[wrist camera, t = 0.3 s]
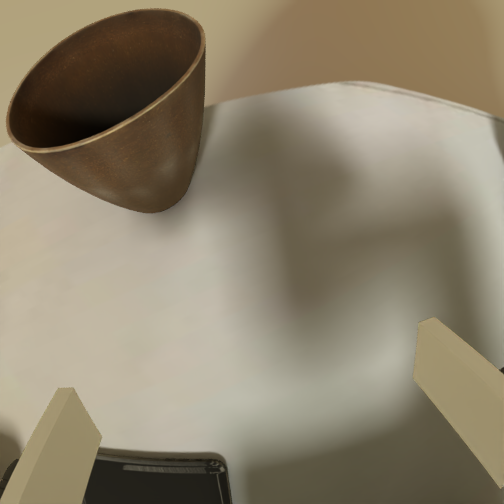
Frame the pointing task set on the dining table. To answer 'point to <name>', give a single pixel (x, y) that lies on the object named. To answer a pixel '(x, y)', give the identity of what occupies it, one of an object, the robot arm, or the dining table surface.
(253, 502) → the dining table surface
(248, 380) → the dining table surface
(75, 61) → the plant pot
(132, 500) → the phone
